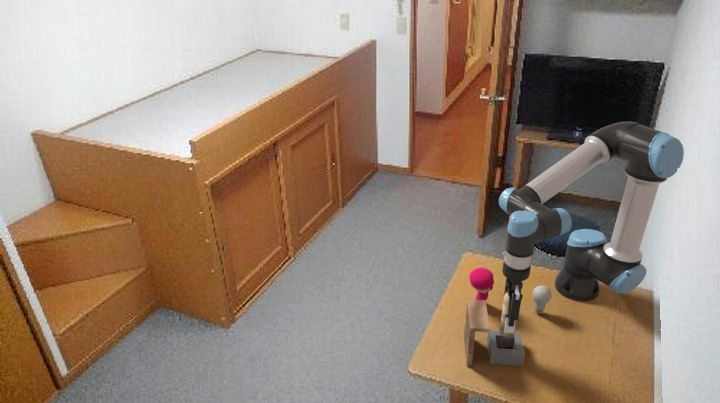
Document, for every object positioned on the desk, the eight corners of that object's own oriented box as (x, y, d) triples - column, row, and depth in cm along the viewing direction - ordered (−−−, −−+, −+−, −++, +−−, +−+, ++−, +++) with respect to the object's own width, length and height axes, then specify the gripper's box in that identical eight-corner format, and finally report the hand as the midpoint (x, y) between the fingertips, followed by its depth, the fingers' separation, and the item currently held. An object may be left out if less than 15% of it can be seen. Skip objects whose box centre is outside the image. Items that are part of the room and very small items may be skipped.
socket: (518, 342, 174) (519, 332, 172) (522, 365, 165) (524, 354, 163) (486, 341, 175) (488, 330, 173) (489, 363, 166) (491, 352, 164)
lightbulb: (548, 320, 183) (553, 294, 177) (530, 317, 184) (534, 292, 179) (547, 308, 188) (551, 282, 183) (528, 306, 189) (533, 280, 184)
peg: (513, 328, 168) (518, 292, 161) (515, 338, 164) (521, 301, 157) (498, 327, 168) (503, 291, 161) (500, 337, 164) (505, 301, 158)
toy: (493, 314, 186) (497, 278, 179) (468, 314, 186) (472, 279, 179) (488, 298, 193) (492, 263, 186) (464, 298, 194) (468, 264, 186)
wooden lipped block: (481, 337, 176) (485, 300, 169) (485, 367, 165) (489, 329, 158) (464, 336, 177) (467, 299, 169) (466, 366, 166) (470, 327, 158)
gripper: (500, 245, 161) (492, 307, 173) (507, 281, 146) (498, 346, 157) (525, 246, 161) (516, 308, 172) (536, 282, 145) (525, 347, 157)
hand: (507, 326), depth 165 cm, fingers closed on peg, 4 cm apart
